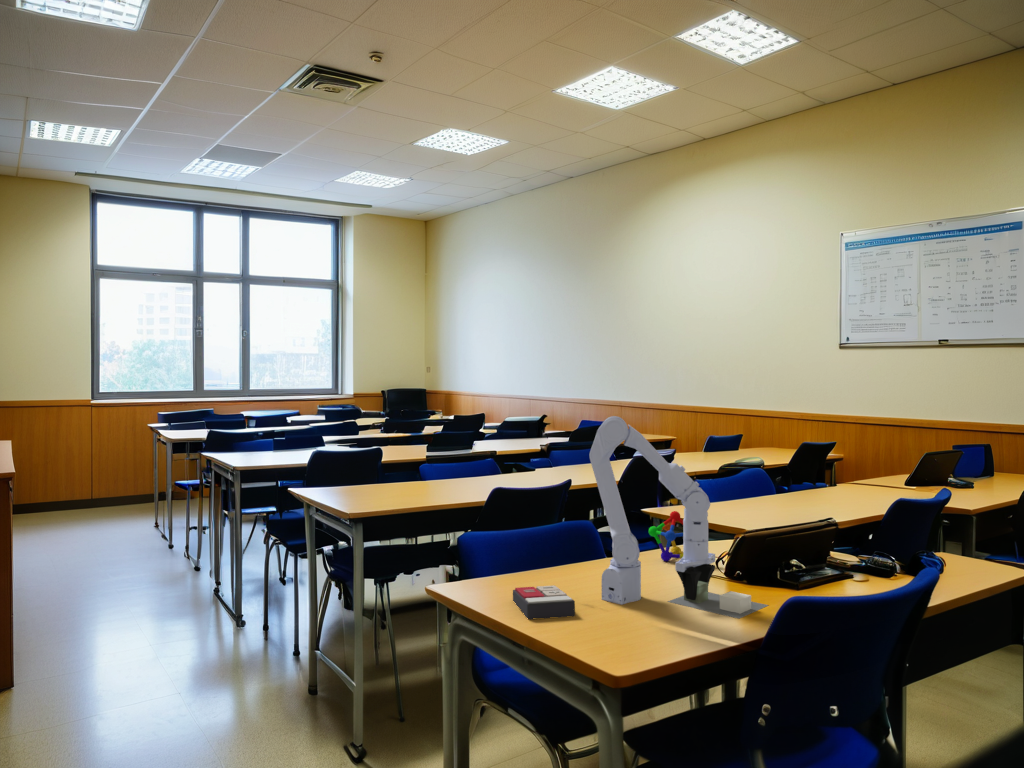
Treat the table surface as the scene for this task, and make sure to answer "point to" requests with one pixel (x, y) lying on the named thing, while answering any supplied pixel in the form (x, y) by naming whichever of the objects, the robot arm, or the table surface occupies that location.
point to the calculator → (543, 602)
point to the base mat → (716, 606)
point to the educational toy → (668, 537)
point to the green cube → (700, 593)
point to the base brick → (735, 602)
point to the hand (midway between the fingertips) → (696, 597)
